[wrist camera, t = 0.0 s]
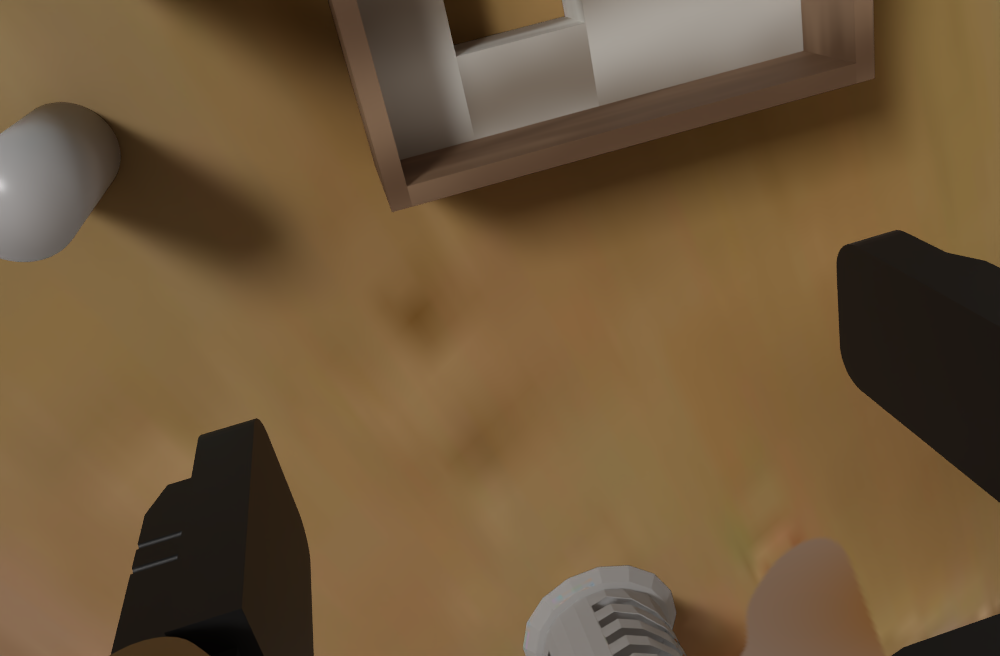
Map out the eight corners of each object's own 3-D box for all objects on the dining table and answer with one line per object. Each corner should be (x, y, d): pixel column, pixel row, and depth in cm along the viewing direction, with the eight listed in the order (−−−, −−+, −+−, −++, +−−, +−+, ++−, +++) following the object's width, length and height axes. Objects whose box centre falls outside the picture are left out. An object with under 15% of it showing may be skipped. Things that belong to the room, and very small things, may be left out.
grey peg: (-3, 116, 35) (-76, 163, 28) (97, 91, 36) (50, 131, 29) (41, 209, 37) (-18, 275, 30) (135, 184, 38) (100, 243, 31)
